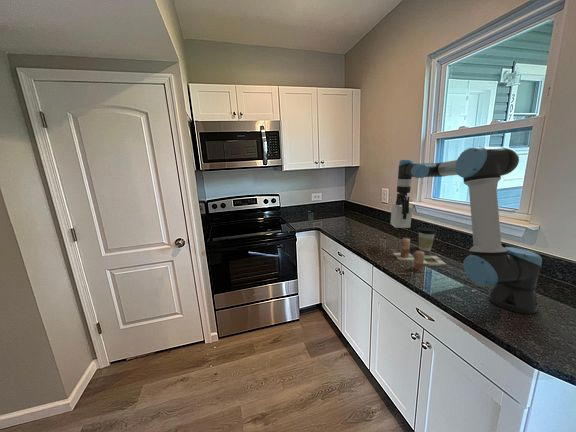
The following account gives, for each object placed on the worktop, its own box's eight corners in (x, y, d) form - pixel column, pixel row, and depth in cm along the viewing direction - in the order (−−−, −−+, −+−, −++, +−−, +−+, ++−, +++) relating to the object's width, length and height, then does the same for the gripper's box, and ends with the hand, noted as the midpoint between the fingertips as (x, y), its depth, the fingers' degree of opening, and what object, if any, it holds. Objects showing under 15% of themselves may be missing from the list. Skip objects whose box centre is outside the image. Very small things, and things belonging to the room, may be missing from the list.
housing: (410, 227, 150) (412, 207, 147) (395, 227, 151) (396, 207, 148) (404, 223, 159) (406, 204, 156) (390, 223, 160) (392, 204, 157)
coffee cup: (435, 254, 153) (438, 231, 150) (418, 253, 155) (421, 231, 151) (430, 249, 162) (432, 227, 159) (414, 248, 164) (416, 226, 161)
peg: (423, 273, 130) (426, 253, 127) (415, 273, 130) (417, 253, 127) (420, 269, 134) (422, 250, 131) (411, 269, 134) (413, 250, 132)
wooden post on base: (416, 262, 142) (419, 242, 139) (398, 262, 143) (400, 242, 140) (409, 255, 153) (411, 236, 150) (392, 255, 154) (394, 236, 151)
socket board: (446, 268, 134) (446, 264, 134) (423, 268, 135) (423, 263, 135) (435, 259, 146) (435, 255, 145) (414, 259, 147) (414, 255, 146)
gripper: (418, 188, 138) (413, 226, 143) (403, 183, 159) (400, 217, 164) (404, 188, 139) (400, 226, 144) (391, 183, 160) (388, 217, 165)
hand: (400, 221), depth 154 cm, fingers closed on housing, 9 cm apart
